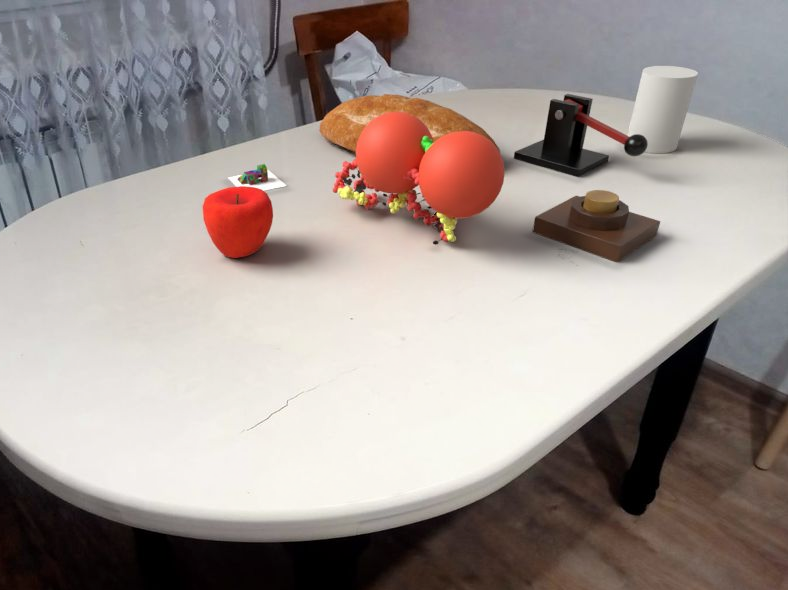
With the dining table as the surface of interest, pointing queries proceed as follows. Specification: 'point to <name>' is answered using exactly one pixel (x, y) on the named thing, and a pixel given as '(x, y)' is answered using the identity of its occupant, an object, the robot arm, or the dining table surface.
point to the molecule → (423, 171)
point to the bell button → (601, 201)
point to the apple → (238, 219)
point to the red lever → (614, 133)
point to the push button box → (596, 228)
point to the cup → (662, 106)
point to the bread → (358, 112)
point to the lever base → (564, 140)
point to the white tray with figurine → (257, 179)
